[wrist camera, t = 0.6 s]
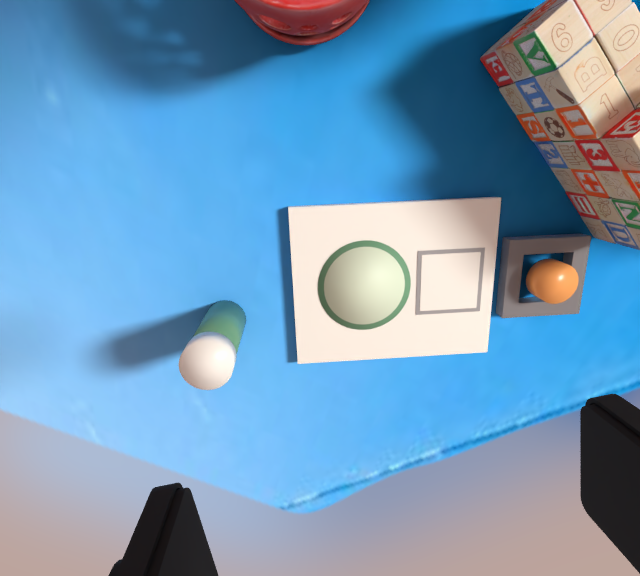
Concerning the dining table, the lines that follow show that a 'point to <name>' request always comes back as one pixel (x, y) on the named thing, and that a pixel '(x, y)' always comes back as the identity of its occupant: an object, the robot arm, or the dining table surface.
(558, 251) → the button housing
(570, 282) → the button
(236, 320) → the marker
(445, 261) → the activity sheet
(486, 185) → the dining table surface
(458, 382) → the dining table surface
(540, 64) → the stack of blocks
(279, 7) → the plant pot
